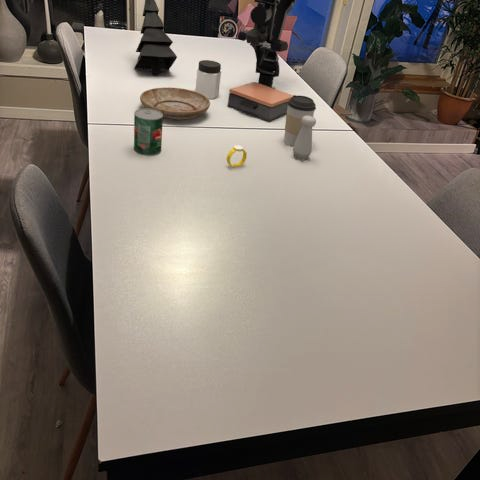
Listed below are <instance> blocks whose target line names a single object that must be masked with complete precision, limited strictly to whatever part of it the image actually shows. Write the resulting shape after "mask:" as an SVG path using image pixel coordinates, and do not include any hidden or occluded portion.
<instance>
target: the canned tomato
mask: <svg viewBox="0 0 480 480" xmlns="http://www.w3.org/2000/svg"><path fill="white" fill-rule="evenodd" d="M133 113H134V114H133V115H134V118H133V122H134V124H133V125H134V126H133V139H134V140H133V151H134V152H135V153H136V154H137V155H140V156H145V157H155V156H158V155H160V154H161V153H162V146H163V145H162V142H163V125H164V124H163V122H164V121H163V119H164V117H163V114H162V113H161V112H160V111H158V110H155V109H147V108H145V107H144V108H139V109H136V110H135V111H134V112H133Z"/></svg>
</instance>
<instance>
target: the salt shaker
mask: <svg viewBox="0 0 480 480" xmlns="http://www.w3.org/2000/svg"><path fill="white" fill-rule="evenodd" d="M316 122H317V120H316V118H315V117H314V116H313V117H312V116H303V117H302V119H301V123H302V127H301V129H300V132H299V134H298V137H297V139H296V142H295V144H294V146H293V147H292V153H293V157H295V159H297V160H299V161H305V160H307V159H308V158H309V157H310V155H311V154H312V151H313V128H314V127H315V126H316V124H317V123H316Z"/></svg>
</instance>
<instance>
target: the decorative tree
mask: <svg viewBox="0 0 480 480" xmlns="http://www.w3.org/2000/svg"><path fill="white" fill-rule="evenodd" d="M159 11H160V9H159V6H158V4H157V2H156V0H144V7H143V12H142V17H144V18H143V20H142V21H143V22H142V26H141V30H140V34H141V35H142V36H141V38H140V41H139V43H138V45H137V48H136V50H135V53H139V55H138V56H137V62H136V64H135V65H134V68H133V69H134V70H135V69H137V70H151V74H152V75H154V76H159V75H161V74H162V70H163V71H164V70H166V71H169V70H170V69H171V68H172V66H173V64H174V63H175V61H176V60H177V58H178V56H177V54H176V53H175V52H174V51H173V50H172V47H171V45H172V44H173V43H174V41H173V40H172V39H171V38H170V37H169V36H168V35H167V33H166V32H165V31H164V28H165V24H164V22H163V20H162V19H161V17H160V16H159V13H160V12H159Z"/></svg>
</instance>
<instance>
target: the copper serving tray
mask: <svg viewBox="0 0 480 480" xmlns="http://www.w3.org/2000/svg"><path fill="white" fill-rule="evenodd" d="M274 88H275V87H273V88H271V87H268V86H265V85H262V84H259V83H258V82H256V81H252V82H249V83H245V84H242V85H239V86H235V87H232V88H229V92H228V93H233V94H236V95H238V96H241V97H244V98H247V99H249V100H252V101H255V102H258V103H260V104H263V105H266V106H268V107H274V106H277V105H279V104H282V103H285V102H287V101H289V100H290V99H291V98H292V97H293V94H291V93H288V92H285V91H282V90H279V89H277V88H275V89H274Z"/></svg>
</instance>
